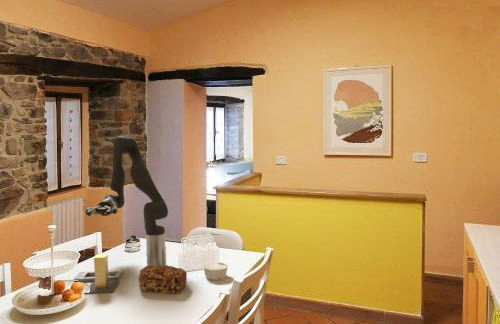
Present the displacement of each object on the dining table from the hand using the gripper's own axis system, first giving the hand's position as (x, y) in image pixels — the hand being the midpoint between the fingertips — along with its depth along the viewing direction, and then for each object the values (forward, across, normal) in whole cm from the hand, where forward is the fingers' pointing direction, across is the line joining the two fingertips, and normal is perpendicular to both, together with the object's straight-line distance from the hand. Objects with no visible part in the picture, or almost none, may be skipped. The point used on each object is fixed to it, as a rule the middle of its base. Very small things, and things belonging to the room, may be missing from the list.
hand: (97, 213), depth 203 cm
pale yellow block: (+16, +5, +29) cm, 34 cm away
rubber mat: (+16, +5, +30) cm, 34 cm away
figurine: (+20, -17, +30) cm, 40 cm away
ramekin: (+7, +55, +30) cm, 63 cm away
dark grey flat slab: (+3, 0, +30) cm, 30 cm away
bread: (+19, +32, +30) cm, 48 cm away
